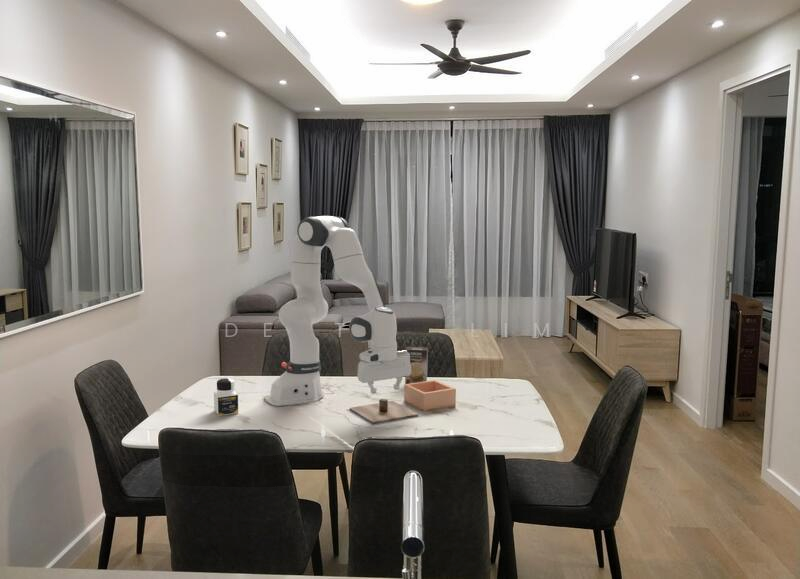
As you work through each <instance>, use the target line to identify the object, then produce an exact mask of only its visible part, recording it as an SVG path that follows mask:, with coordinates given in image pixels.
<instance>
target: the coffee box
mask: <svg viewBox="0 0 800 579" xmlns="http://www.w3.org/2000/svg"><path fill="white" fill-rule="evenodd" d="M405 350H406V351H408V352H409V353H410V364H411V374H410V375H409V376H404V385H405V384H411V383H418V382H424V381H428V361H429V360H428V357H429V356H428V353H429V348H428V347H425V346H424V347H423V346H407V347H406V348H405Z"/></svg>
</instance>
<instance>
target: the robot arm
mask: <svg viewBox="0 0 800 579" xmlns="http://www.w3.org/2000/svg"><path fill="white" fill-rule="evenodd" d="M324 247H328V248H329V250H330V251H331V256H332V260H333V264H334V270H335V272H336V274H337V276H338V278H340V279H341V280H342V281H343V282H345V283H347V284H350V285H353V286H355V287H357V288H358V289H359V290H361V291H362V293H363V295H364V298H365V302H366V304H367V307H368V309H369V312H366V313H364V314H362V315H357V316H355V317H353V318H352V319H351V321H350V322H349V327H348V329H349V334H350V336H351V338H352V339H353V340H354V341H355V342H358V343H365V342H371V347H370V348H369V349H366V350H365V351H362V352H360V354H359V355H358V358H359V360H360V361H359V362H358V364H357V379H358V381H359V382H360V383H363V384H367V385H368V387H369V389H370V393H371V394H372V395H375V394H377V388H375V387H374V385H375V384H374V382H377V381H379V382H380V381H384V380H385V381H386V380H392V379H396V382H395V383H394V384H393V389H394V390H396V391H397V390H400V387H401V386H400V385H401V383H402V381H403V377H404V378H405V376H409V375H410V374H411V364H410V353H409V352H408V351H406V349H405V350H398V343H397V334H398V330H397V329H398V328H397V324H398V323H397V316H396V313H395V311H394V310H393V309H392V308H390V307H387V306H386V305H385V302H384V298H383V296H382V295H383V294H382V293H381V290H380V287H379V285H378V282H377V280H376V277H375V275H374V273H373V272H372V271H371V270H370V268H369V266H368V264H367V263H366V260H365V257H364V252H363V248H362V245H361V242H360V239H359V237H358V235H357V233H356V232H355V230H354V229H352V228H350V225H349V222H348V221H347V220H346V219H345V218H343V217H341V216H337V215H336V216H335V215H333V216H332V215H320V216H319V215H318V216H308V217H305V218H304V219H301V220H300V222H299V223H298V226H297V234H296V235H295V237H294V240H293V244H292V249H291V250H292V251H291V262H290V263H291V264H290V265H291V266H290V282H291V285H293V287H294V289H295V291H296V298H295V299H291V300H289V301H287V302H286V303H285V304H282V306H281V307H280V309H279V312H278V320H279V322H280V323H281V325H282V326H283V327H284V328H285V330H286V333H287V336H288V341H289V353H290V356H289V357H290V360H289V361H288V362H285V361H282V362H281V367H282V368H284V369H285V371H284V372H283V373H282V374H280V376H279V377H278V378H276V379H275V380H273V382H272V383H271V387H270V392H269V393H268V394H265V395H264V400H265V401H266V402H267V403H268V404H270V405H272V406H278V407H279V406H280V407H282V406H292V405H303V404H311V403H317V402H318V401H319V400H321V399H322V398H324V392H323V389H322V384H321V383H322V382H321V376H320V375H321V369H322V368H321V360H320V341H319V339H318V338H317V337H316V336H315V333H314V328H313V325H314V324H317V323H319V322H321V321H323V319H324V318H326V316H327V315H328V314H329V305H328V302H327V300H326V299H325V298H324V295H323V291H322V287H321V286H322V284H321V259H322V258H321V256H322V255H321V254H322V250H323V248H324Z"/></svg>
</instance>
